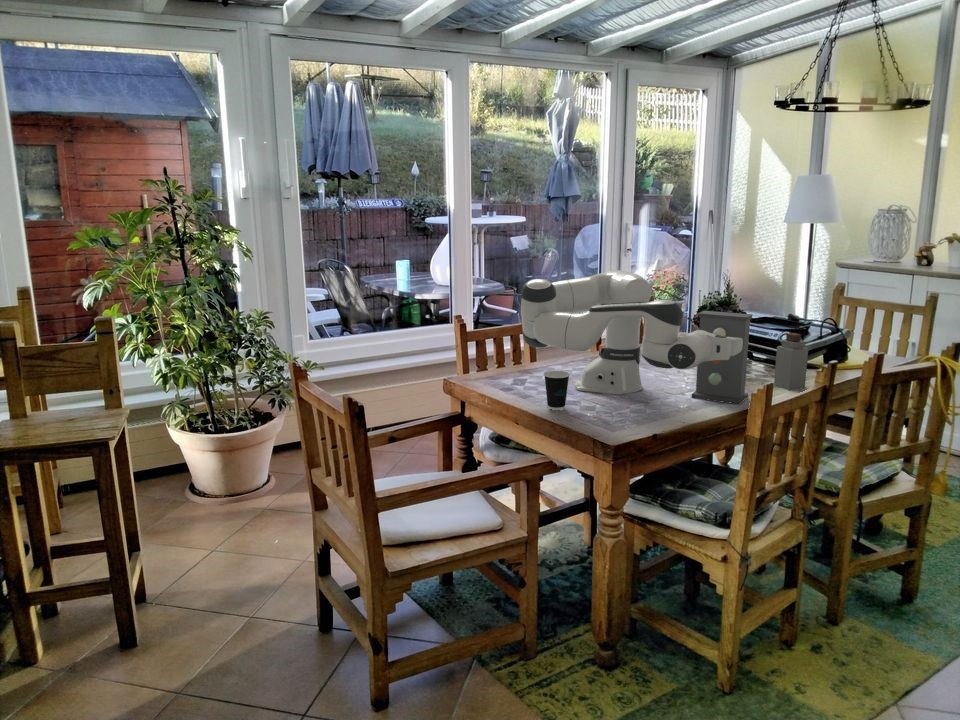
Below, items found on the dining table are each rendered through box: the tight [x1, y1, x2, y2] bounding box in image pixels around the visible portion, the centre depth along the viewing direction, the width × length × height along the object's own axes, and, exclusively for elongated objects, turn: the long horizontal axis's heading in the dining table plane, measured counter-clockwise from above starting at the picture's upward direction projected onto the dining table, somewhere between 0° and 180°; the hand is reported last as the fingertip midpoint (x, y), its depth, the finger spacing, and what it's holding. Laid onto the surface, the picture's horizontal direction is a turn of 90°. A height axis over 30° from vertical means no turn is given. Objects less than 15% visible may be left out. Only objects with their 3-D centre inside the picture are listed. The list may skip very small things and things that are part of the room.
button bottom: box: [708, 373, 722, 385], centre depth 228 cm, size 4×3×4 cm
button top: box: [713, 328, 726, 336], centre depth 226 cm, size 4×3×4 cm
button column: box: [691, 310, 753, 404], centre depth 231 cm, size 15×10×27 cm, turn 56°
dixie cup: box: [543, 370, 571, 411], centre depth 224 cm, size 8×8×11 cm
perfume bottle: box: [773, 332, 809, 391], centre depth 244 cm, size 7×7×18 cm
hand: (713, 337), depth 220 cm, fingers closed
